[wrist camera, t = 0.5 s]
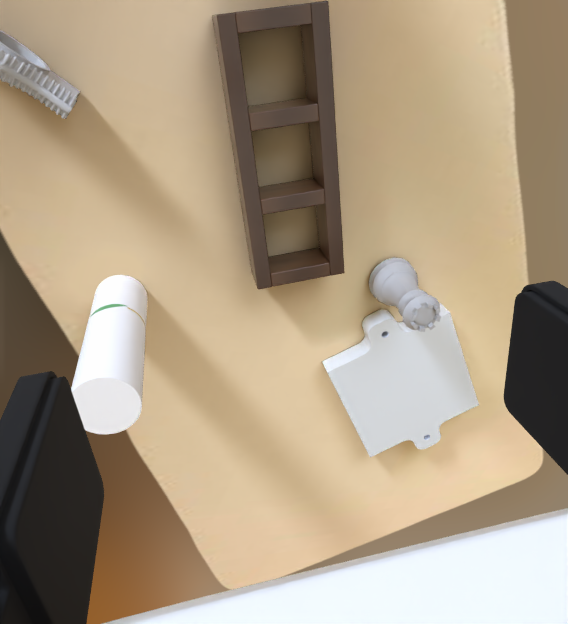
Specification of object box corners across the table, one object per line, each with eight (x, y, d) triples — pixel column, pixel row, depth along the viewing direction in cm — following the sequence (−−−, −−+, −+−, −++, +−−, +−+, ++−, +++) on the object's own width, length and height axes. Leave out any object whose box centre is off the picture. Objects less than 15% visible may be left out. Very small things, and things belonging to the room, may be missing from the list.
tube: (156, 287, 45) (153, 391, 33) (134, 327, 47) (123, 442, 34) (107, 266, 44) (84, 367, 31) (86, 308, 45) (56, 421, 32)
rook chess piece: (360, 269, 49) (393, 309, 42) (404, 247, 48) (444, 283, 42) (375, 306, 51) (409, 350, 44) (417, 285, 51) (458, 326, 44)
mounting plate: (475, 409, 60) (483, 420, 58) (371, 459, 60) (377, 471, 59) (434, 282, 51) (443, 291, 49) (312, 342, 51) (317, 353, 50)
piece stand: (251, 272, 47) (257, 289, 44) (211, 15, 37) (216, 14, 34) (332, 257, 48) (344, 273, 45) (315, 2, 38) (328, 0, 35)
